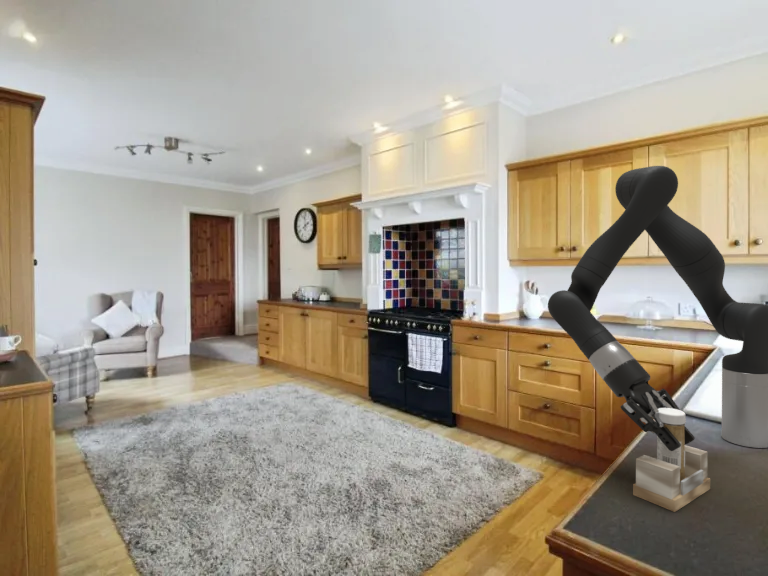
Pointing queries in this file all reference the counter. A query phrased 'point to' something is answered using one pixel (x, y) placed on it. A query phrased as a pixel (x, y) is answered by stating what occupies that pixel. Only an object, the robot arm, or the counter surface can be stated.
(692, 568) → the counter surface
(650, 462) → the napkin holder
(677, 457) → the sprinkles bottle
